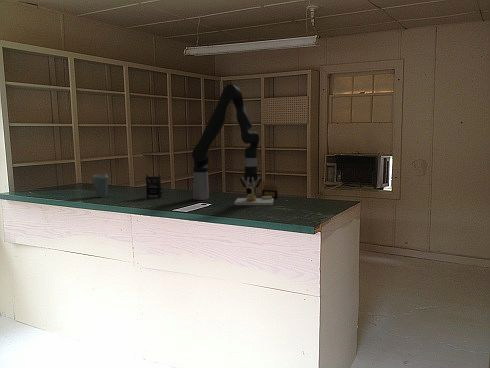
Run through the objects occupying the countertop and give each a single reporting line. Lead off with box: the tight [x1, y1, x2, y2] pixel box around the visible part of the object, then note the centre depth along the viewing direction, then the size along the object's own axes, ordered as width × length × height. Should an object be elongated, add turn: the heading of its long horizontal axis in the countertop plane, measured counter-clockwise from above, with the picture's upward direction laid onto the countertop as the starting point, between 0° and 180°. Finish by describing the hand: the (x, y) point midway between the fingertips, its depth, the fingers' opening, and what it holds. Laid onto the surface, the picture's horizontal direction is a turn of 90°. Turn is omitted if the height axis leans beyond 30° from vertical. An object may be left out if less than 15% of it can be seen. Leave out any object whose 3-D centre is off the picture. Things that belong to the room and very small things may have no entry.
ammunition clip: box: [261, 178, 279, 200], centre depth 276 cm, size 11×2×12 cm, turn 63°
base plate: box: [233, 195, 275, 206], centre depth 259 cm, size 22×15×3 cm
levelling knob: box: [245, 186, 257, 200], centre depth 259 cm, size 9×6×7 cm
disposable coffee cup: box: [91, 173, 109, 198], centre depth 288 cm, size 11×11×15 cm
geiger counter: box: [145, 174, 163, 199], centre depth 283 cm, size 10×4×15 cm, turn 84°
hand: (251, 194), depth 260 cm, fingers closed on levelling knob, 3 cm apart
